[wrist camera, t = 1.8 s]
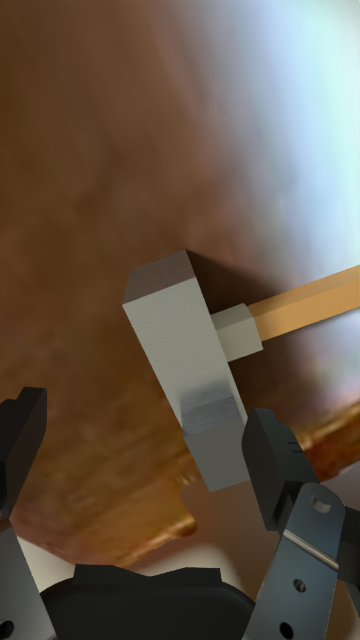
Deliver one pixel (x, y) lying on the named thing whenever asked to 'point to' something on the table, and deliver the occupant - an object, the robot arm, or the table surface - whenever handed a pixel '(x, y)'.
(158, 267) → the block
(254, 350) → the wooden handle
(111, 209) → the table surface
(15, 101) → the table surface
